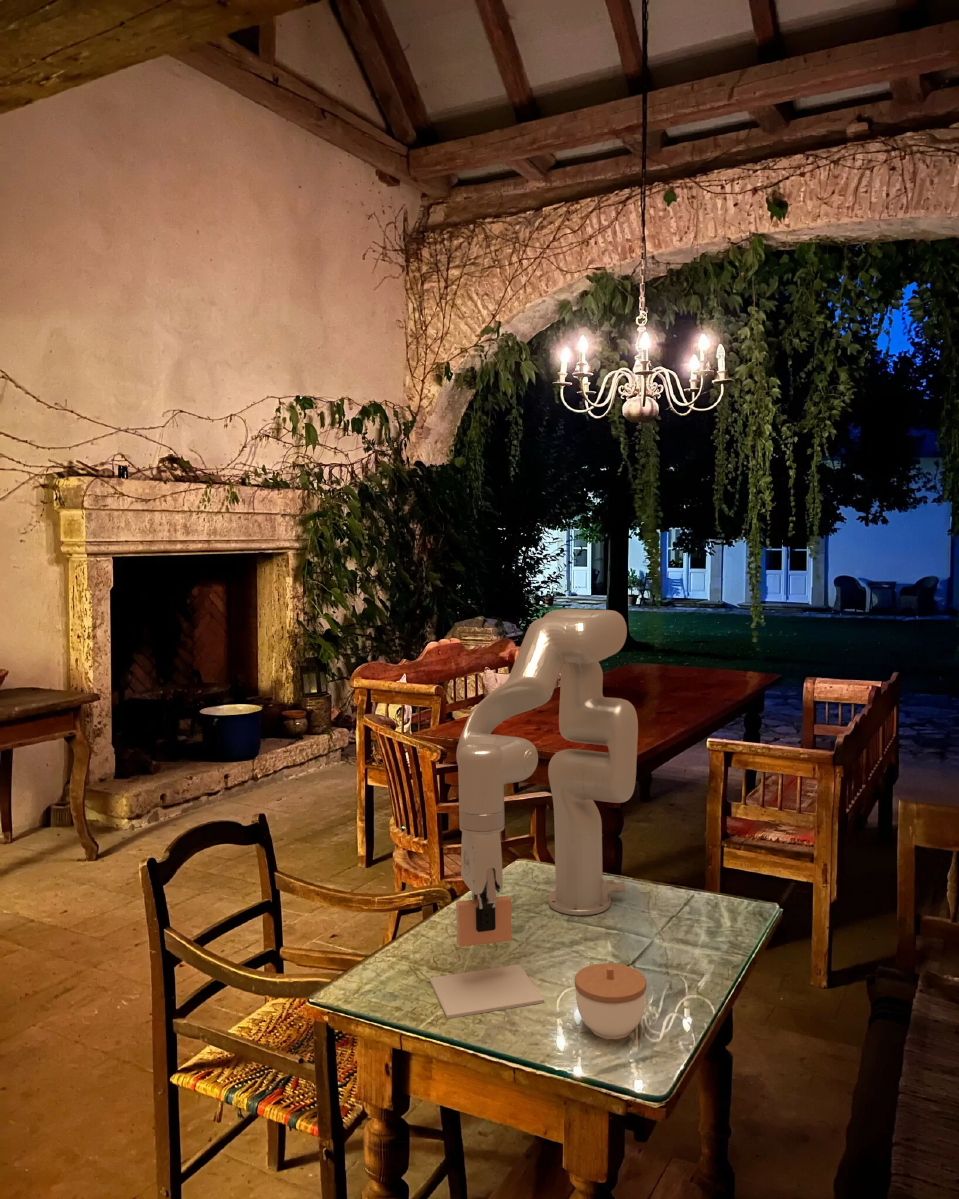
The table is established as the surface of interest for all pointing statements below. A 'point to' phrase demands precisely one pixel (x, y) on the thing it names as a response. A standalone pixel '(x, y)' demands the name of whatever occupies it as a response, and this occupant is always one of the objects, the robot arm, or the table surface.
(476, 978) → the mat
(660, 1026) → the table surface
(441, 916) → the table surface
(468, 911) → the block
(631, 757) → the robot arm
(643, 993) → the lidded jar
